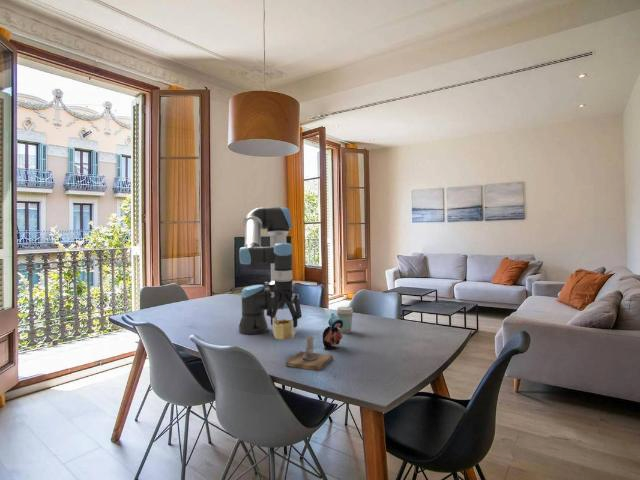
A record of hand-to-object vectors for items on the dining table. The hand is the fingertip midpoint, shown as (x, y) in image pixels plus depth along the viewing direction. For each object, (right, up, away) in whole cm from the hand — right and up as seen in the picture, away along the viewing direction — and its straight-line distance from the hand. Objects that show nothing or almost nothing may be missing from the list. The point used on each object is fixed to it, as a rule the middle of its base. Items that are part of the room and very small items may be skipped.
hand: (284, 333), depth 157 cm
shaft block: (+11, -9, -11) cm, 18 cm away
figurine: (+21, -8, +7) cm, 24 cm away
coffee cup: (+28, -8, +33) cm, 44 cm away
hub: (0, -1, 0) cm, 1 cm away
